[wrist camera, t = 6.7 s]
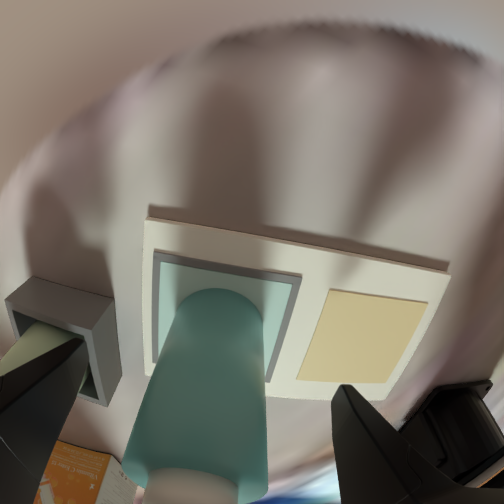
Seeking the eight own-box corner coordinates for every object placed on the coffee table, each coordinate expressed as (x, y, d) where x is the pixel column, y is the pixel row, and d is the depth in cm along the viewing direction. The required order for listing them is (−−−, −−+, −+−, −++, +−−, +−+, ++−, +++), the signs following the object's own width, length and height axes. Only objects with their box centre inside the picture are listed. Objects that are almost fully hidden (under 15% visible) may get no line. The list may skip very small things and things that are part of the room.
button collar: (114, 298, 12) (91, 330, 10) (122, 375, 14) (107, 407, 12) (32, 276, 12) (4, 299, 9) (49, 350, 14) (30, 376, 11)
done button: (89, 325, 11) (39, 397, 7) (99, 380, 12) (66, 448, 8) (28, 305, 11) (-25, 361, 7) (44, 360, 12) (5, 416, 8)
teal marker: (271, 296, 11) (288, 506, 4) (254, 363, 13) (252, 537, 5) (178, 280, 11) (95, 473, 4) (174, 350, 12) (125, 516, 5)
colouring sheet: (447, 272, 11) (452, 276, 11) (382, 395, 14) (384, 401, 14) (148, 216, 11) (143, 220, 10) (147, 369, 14) (144, 376, 13)
